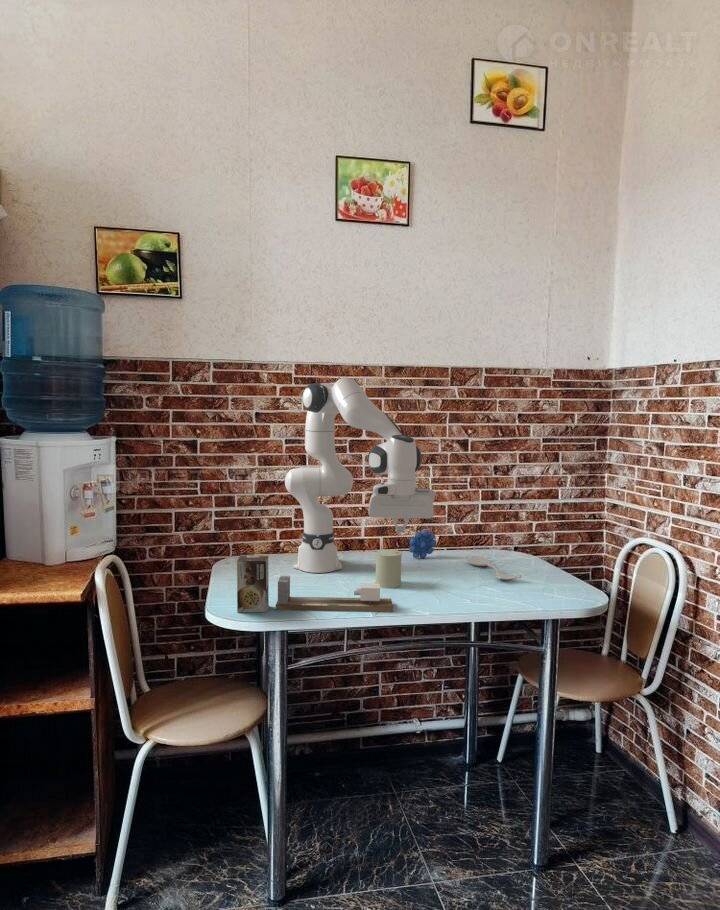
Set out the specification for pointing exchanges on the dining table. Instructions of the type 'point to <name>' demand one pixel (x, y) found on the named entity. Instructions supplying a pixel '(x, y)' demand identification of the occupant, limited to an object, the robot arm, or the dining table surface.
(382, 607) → the gauge base
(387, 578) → the can
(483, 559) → the spoon
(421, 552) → the grapes
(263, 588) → the coffee box
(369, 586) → the block
